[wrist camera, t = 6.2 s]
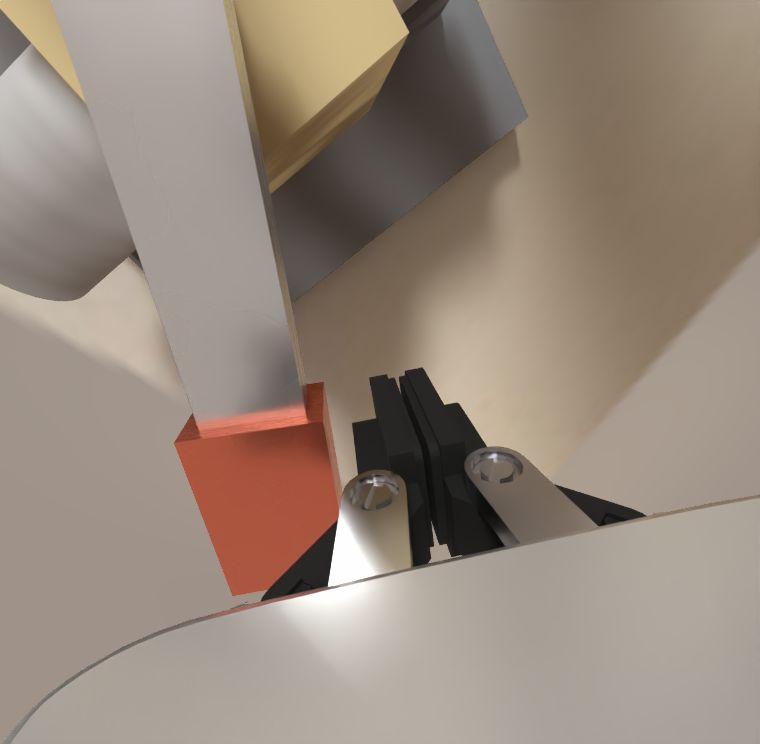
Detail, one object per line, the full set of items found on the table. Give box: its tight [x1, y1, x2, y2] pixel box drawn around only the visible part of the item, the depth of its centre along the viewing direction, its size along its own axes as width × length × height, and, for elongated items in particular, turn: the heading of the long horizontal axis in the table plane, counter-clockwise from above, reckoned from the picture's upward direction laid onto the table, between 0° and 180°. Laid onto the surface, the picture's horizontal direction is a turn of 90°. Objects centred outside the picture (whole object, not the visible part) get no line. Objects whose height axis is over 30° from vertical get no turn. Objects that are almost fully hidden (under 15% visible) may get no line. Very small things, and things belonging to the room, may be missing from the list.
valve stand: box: [0, 0, 528, 304], centre depth 12 cm, size 19×16×12 cm
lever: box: [51, 0, 343, 596], centre depth 8 cm, size 16×3×2 cm, turn 6°
